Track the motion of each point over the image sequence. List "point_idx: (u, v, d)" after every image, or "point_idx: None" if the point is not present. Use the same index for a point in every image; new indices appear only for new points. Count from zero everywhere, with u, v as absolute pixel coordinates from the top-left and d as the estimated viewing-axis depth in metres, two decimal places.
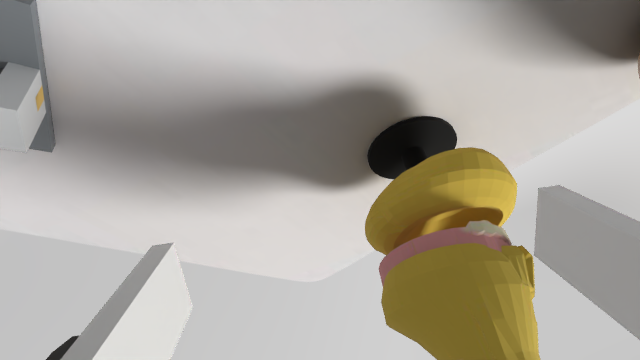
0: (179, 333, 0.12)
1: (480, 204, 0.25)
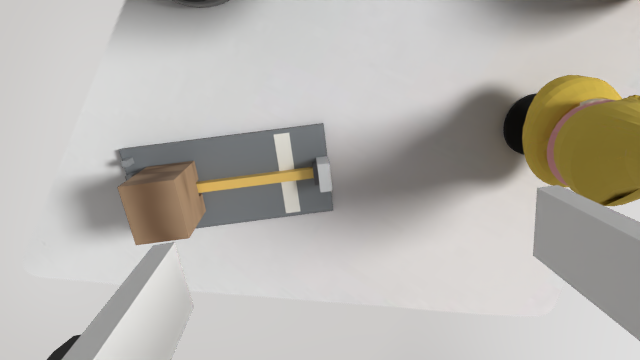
0: (180, 332, 0.12)
1: (585, 98, 0.38)
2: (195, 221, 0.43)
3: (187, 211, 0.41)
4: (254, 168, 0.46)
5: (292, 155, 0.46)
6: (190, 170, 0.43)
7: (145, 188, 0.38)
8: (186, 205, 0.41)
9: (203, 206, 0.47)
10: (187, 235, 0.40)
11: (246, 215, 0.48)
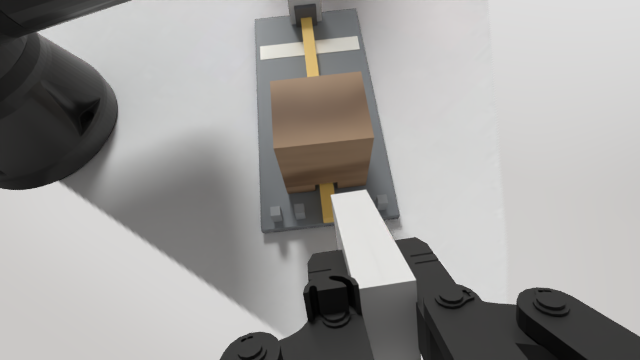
0: None
1: None
2: None
3: None
4: (300, 77, 0.38)
5: (286, 43, 0.40)
6: None
7: (279, 114, 0.26)
8: None
9: None
10: (356, 72, 0.27)
11: None
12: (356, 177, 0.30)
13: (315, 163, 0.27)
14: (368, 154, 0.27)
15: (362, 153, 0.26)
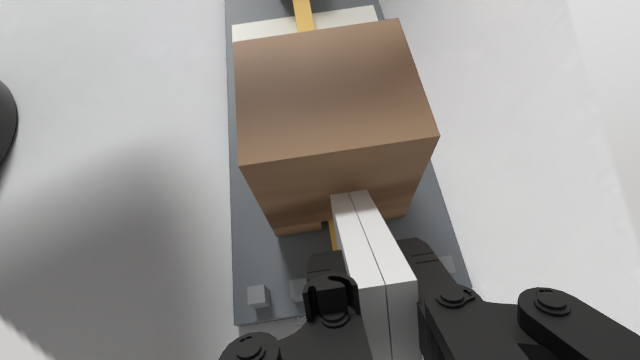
0: None
1: None
2: None
3: None
4: None
5: (270, 19, 0.27)
6: None
7: (249, 99, 0.13)
8: None
9: None
10: (390, 20, 0.15)
11: None
12: (391, 206, 0.18)
13: (322, 189, 0.15)
14: (420, 168, 0.14)
15: (409, 167, 0.14)
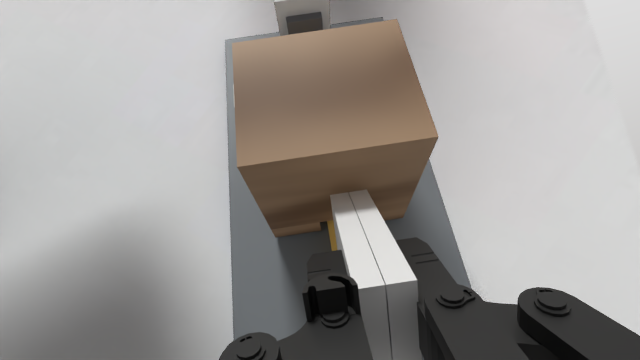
0: None
1: None
2: None
3: None
4: None
5: None
6: None
7: (248, 99, 0.13)
8: None
9: None
10: (389, 22, 0.15)
11: None
12: (390, 207, 0.18)
13: (321, 190, 0.15)
14: (419, 169, 0.14)
15: (408, 168, 0.14)
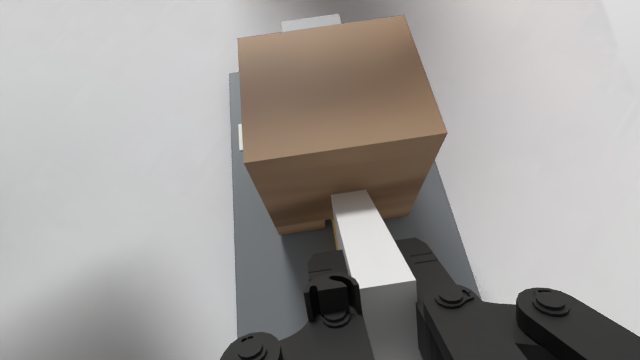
0: None
1: None
2: None
3: None
4: None
5: None
6: None
7: (254, 95, 0.13)
8: None
9: None
10: (396, 17, 0.15)
11: (432, 205, 0.20)
12: (395, 205, 0.17)
13: (327, 187, 0.15)
14: (426, 166, 0.14)
15: (415, 165, 0.14)
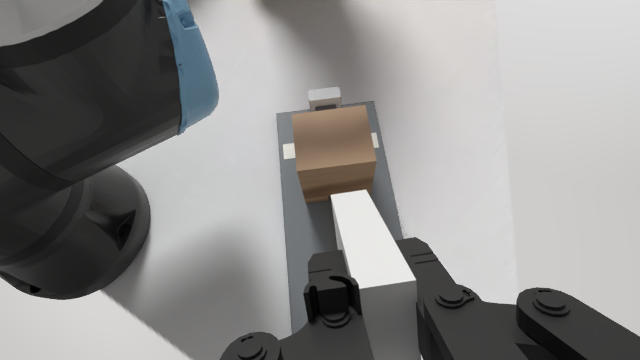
0: None
1: None
2: None
3: None
4: None
5: None
6: None
7: (300, 142, 0.32)
8: None
9: None
10: (361, 106, 0.33)
11: (384, 191, 0.38)
12: (362, 189, 0.36)
13: (329, 180, 0.33)
14: (372, 172, 0.33)
15: (367, 172, 0.33)
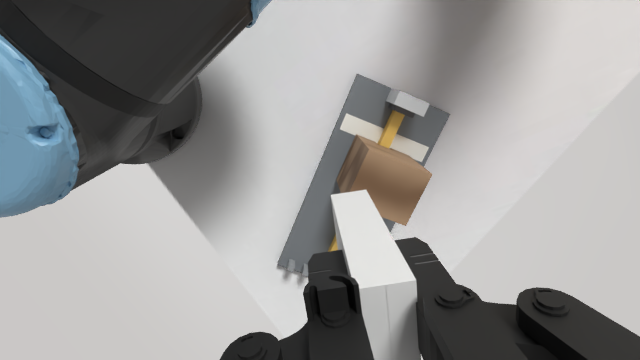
0: None
1: None
2: (417, 164, 0.38)
3: (404, 161, 0.36)
4: None
5: (369, 122, 0.42)
6: (364, 139, 0.40)
7: (360, 180, 0.35)
8: (397, 158, 0.36)
9: (403, 153, 0.42)
10: (428, 173, 0.35)
11: None
12: None
13: None
14: None
15: None
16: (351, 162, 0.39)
